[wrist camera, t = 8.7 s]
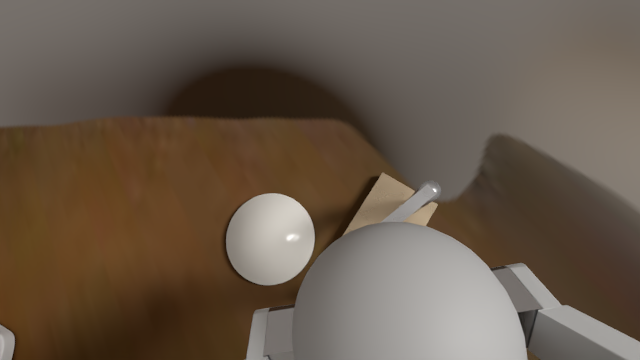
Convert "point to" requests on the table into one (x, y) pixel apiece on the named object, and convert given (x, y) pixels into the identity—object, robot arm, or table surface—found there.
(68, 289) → the table surface
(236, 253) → the coaster
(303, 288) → the lightbulb
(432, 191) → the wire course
